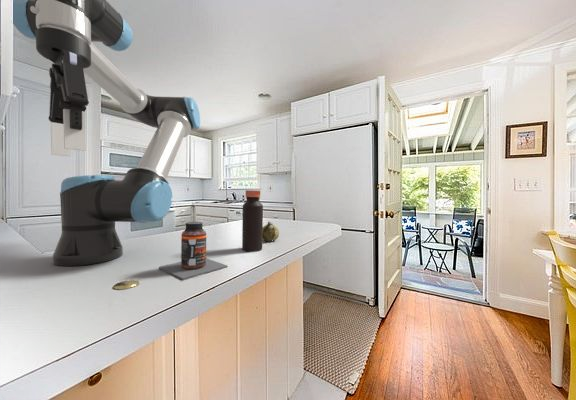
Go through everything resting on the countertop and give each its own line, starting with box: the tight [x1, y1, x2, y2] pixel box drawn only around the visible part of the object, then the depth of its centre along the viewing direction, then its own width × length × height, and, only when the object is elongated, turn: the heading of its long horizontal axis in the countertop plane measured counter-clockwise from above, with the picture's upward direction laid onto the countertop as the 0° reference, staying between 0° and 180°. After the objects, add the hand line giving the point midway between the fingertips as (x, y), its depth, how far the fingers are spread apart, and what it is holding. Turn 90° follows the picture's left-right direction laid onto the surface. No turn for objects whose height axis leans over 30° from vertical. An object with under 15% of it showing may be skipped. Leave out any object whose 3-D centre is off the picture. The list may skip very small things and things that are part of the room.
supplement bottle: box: [180, 221, 207, 269], centre depth 61 cm, size 6×6×11 cm
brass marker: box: [112, 279, 140, 291], centre depth 50 cm, size 4×4×1 cm
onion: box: [262, 221, 280, 242], centre depth 95 cm, size 8×8×8 cm
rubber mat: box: [158, 257, 228, 281], centre depth 61 cm, size 12×12×1 cm
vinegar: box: [241, 190, 264, 252], centre depth 81 cm, size 7×7×20 cm
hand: (67, 153), depth 45 cm, fingers open, 13 cm apart
